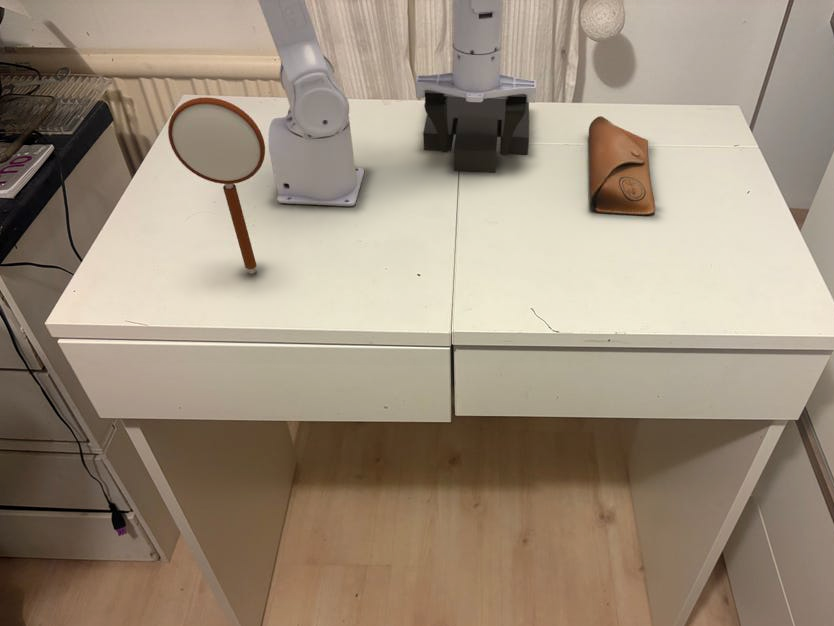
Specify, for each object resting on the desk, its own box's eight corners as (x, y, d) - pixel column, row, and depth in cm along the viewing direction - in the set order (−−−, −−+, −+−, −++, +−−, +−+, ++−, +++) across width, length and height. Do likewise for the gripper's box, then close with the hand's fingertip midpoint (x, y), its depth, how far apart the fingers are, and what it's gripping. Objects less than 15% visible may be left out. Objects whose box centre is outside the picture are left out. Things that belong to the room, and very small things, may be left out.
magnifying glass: (293, 268, 78) (256, 94, 64) (291, 278, 77) (252, 103, 62) (214, 267, 78) (159, 92, 63) (210, 277, 77) (153, 102, 62)
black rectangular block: (453, 170, 92) (453, 150, 90) (458, 135, 99) (458, 115, 96) (495, 172, 92) (495, 151, 90) (497, 137, 99) (497, 116, 96)
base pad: (423, 150, 96) (423, 133, 94) (431, 108, 104) (431, 92, 102) (527, 154, 96) (529, 137, 94) (527, 112, 103) (528, 96, 102)
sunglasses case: (660, 213, 86) (640, 169, 82) (605, 234, 89) (584, 193, 85) (648, 138, 98) (630, 96, 94) (600, 158, 101) (581, 119, 97)
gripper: (410, 56, 80) (415, 164, 90) (539, 62, 80) (530, 169, 89) (417, 31, 85) (421, 135, 95) (538, 36, 84) (530, 140, 94)
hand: (474, 150), depth 92 cm, fingers open, 7 cm apart
